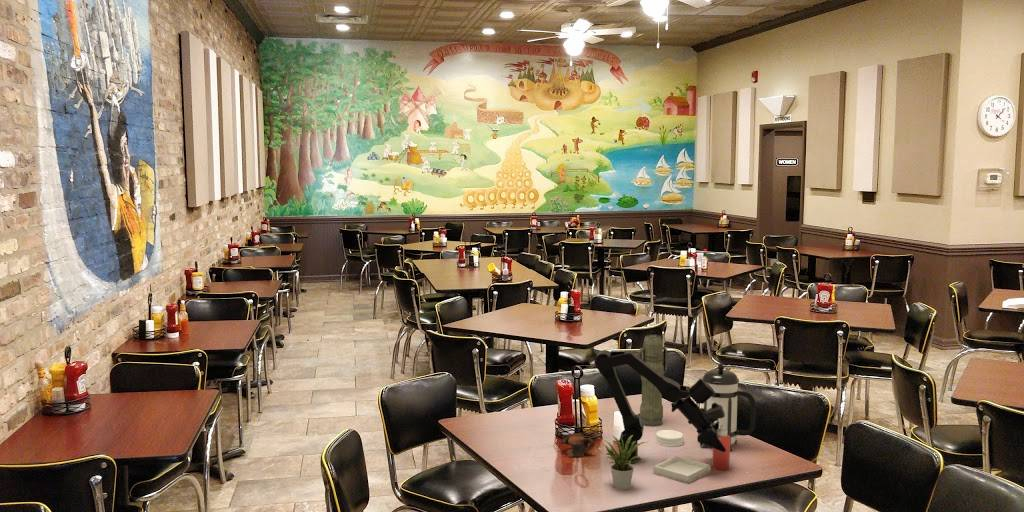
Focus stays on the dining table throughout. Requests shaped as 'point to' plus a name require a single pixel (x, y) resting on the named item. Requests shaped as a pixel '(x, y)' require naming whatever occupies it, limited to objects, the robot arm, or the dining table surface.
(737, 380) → the coffee press
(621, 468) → the house plant
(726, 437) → the squeeze bottle
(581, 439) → the pottery mug
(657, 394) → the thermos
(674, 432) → the cream round disc
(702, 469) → the tray
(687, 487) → the dining table surface
